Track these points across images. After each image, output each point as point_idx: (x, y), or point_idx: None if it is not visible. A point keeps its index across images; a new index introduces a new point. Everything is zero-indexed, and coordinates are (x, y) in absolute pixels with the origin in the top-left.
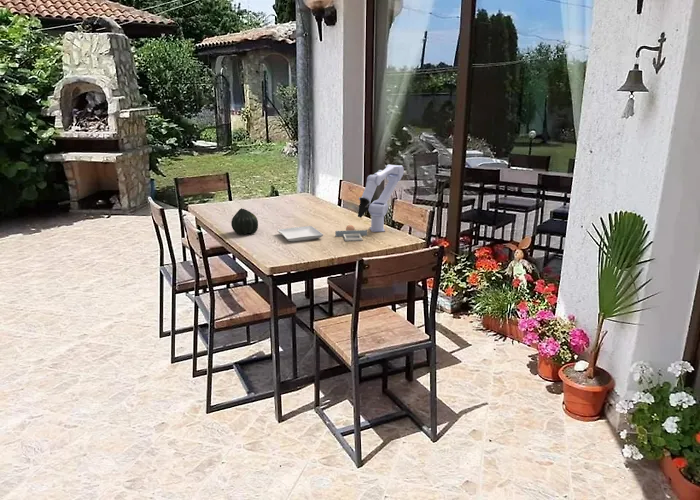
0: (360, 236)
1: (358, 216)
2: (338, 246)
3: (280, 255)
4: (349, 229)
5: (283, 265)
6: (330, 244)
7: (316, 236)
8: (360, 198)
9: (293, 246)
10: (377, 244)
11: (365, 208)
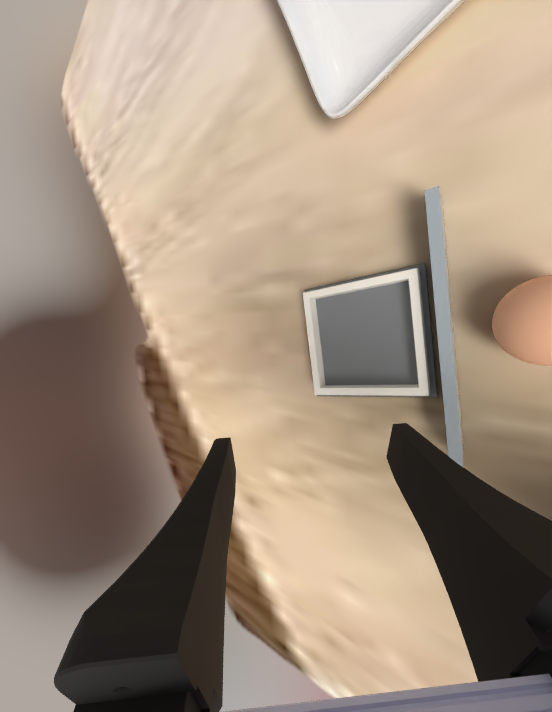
0: (348, 390)
1: (396, 431)
2: (226, 266)
3: (122, 53)
4: (495, 314)
5: (72, 128)
6: (251, 218)
7: (315, 78)
8: (78, 625)
9: (212, 24)
10: (262, 453)
11: (477, 632)
